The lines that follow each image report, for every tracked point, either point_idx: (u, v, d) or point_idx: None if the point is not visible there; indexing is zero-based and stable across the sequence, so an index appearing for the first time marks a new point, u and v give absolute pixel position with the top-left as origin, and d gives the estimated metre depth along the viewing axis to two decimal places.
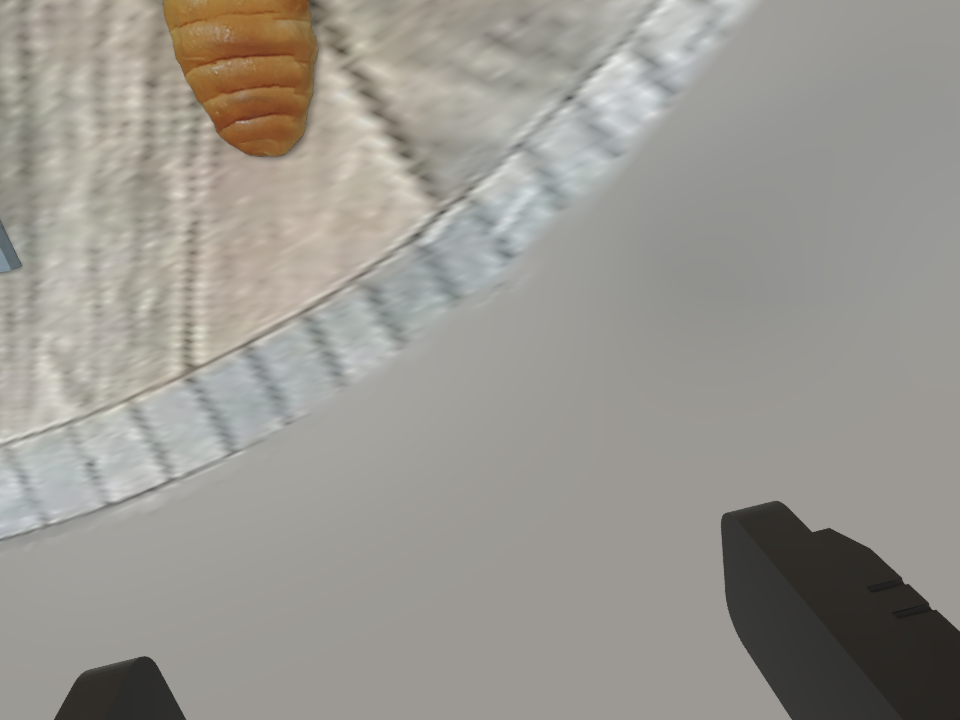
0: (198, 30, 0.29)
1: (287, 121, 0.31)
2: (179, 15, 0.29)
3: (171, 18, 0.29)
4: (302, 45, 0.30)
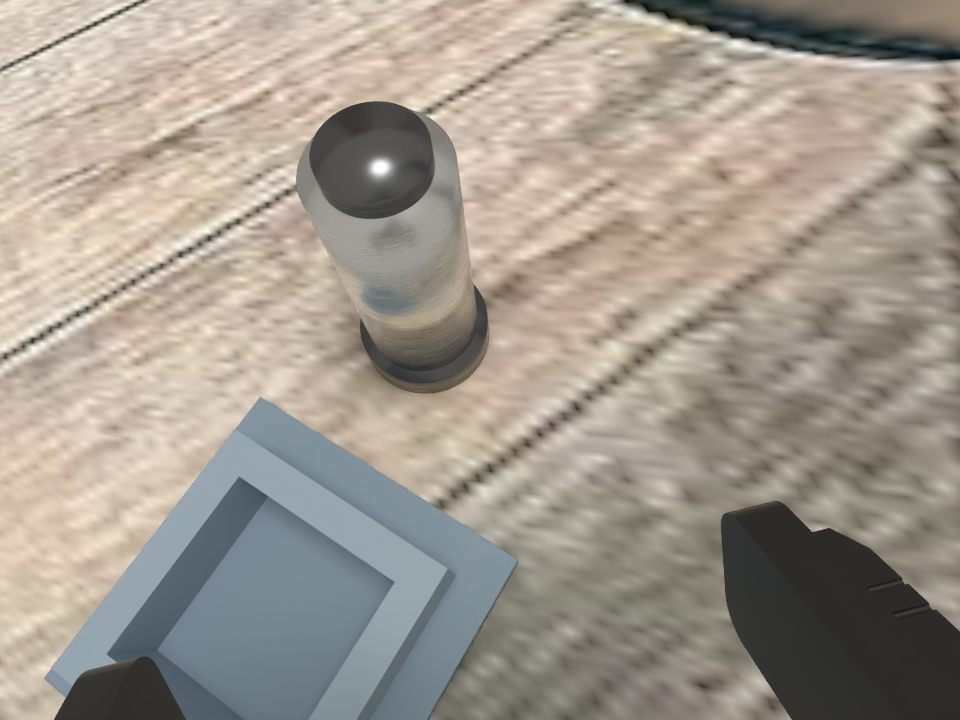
0: None
1: None
2: None
3: None
4: None
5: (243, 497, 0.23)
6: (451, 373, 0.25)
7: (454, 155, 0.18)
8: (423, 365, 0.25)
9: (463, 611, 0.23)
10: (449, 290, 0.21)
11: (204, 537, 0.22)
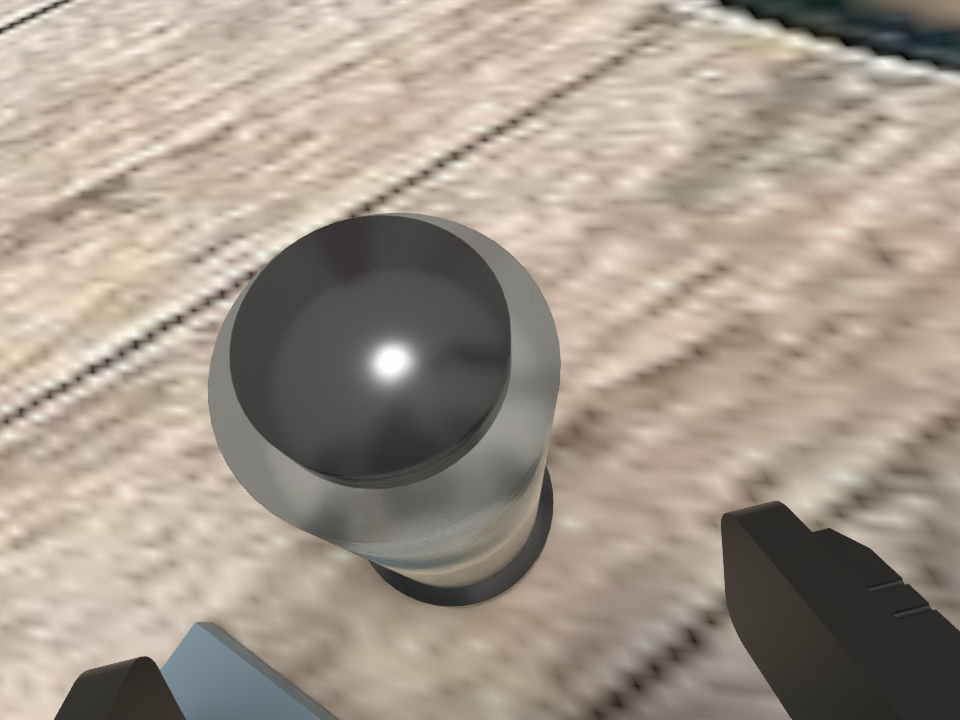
0: None
1: None
2: None
3: None
4: None
5: None
6: (499, 594, 0.16)
7: (552, 330, 0.08)
8: (454, 587, 0.15)
9: None
10: (514, 530, 0.11)
11: None
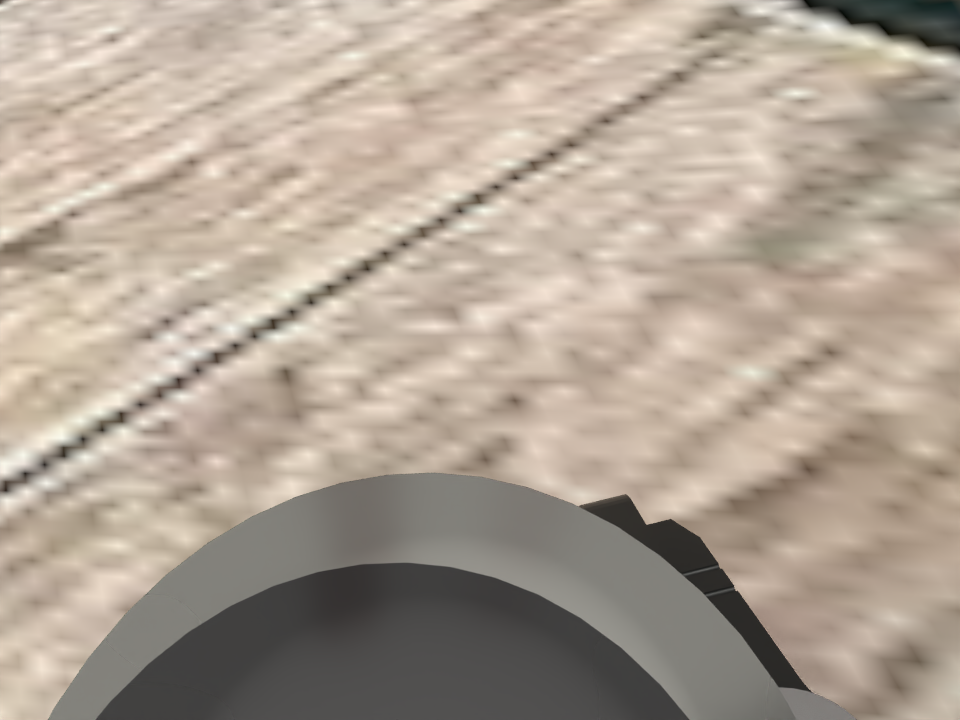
0: None
1: None
2: None
3: None
4: None
5: None
6: None
7: None
8: None
9: None
10: None
11: None
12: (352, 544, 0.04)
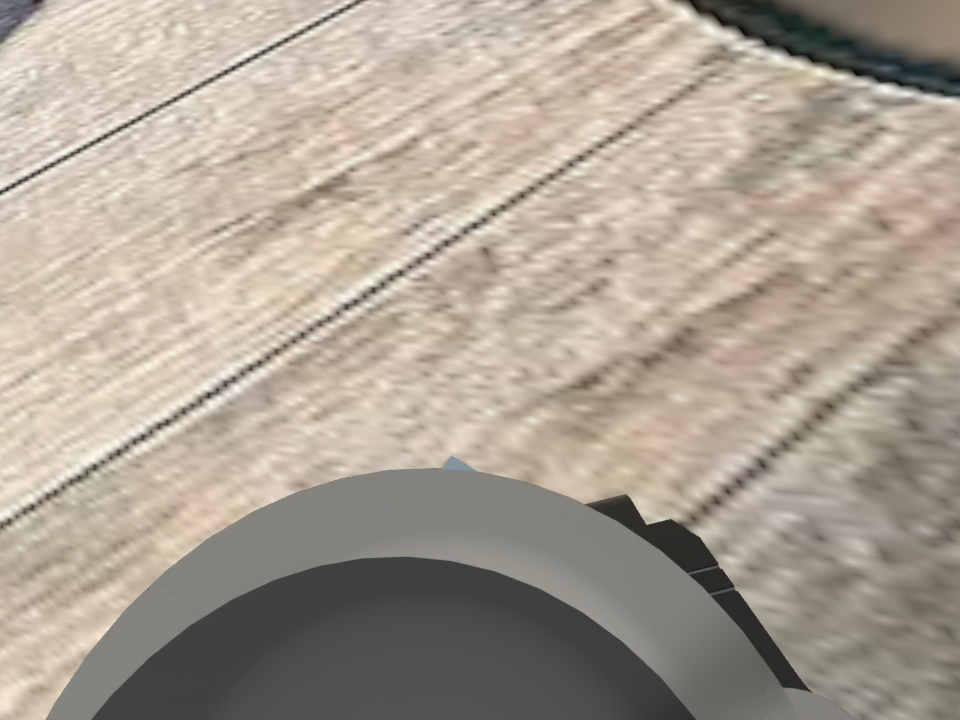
0: None
1: None
2: None
3: None
4: None
5: None
6: None
7: None
8: None
9: None
10: None
11: None
12: (353, 540, 0.04)
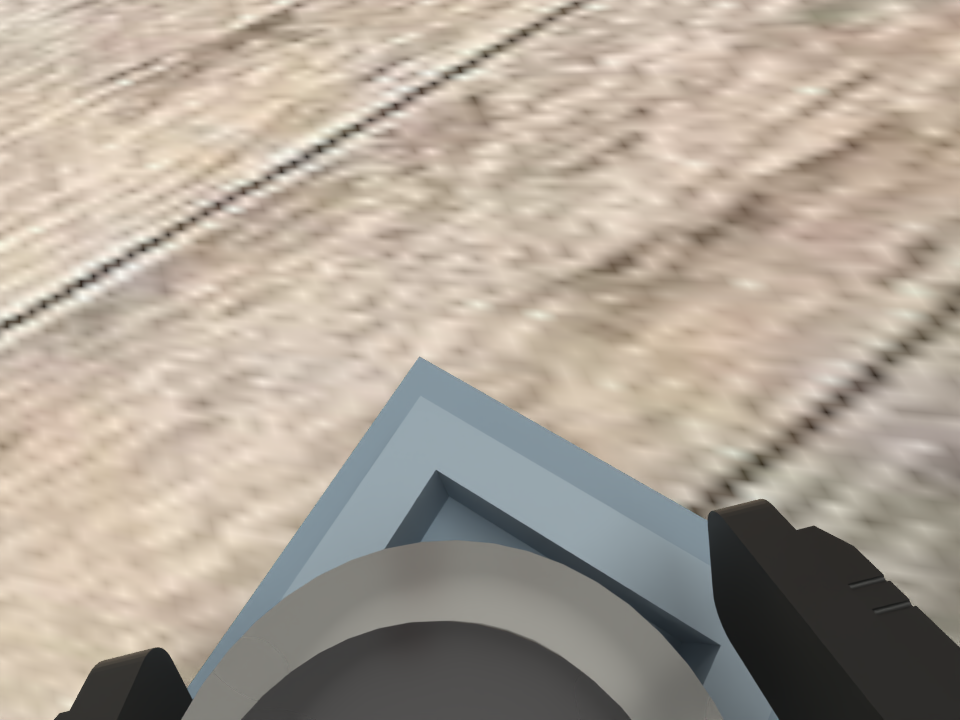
0: None
1: None
2: None
3: None
4: None
5: (428, 503, 0.15)
6: None
7: None
8: None
9: None
10: None
11: None
12: (396, 597, 0.05)
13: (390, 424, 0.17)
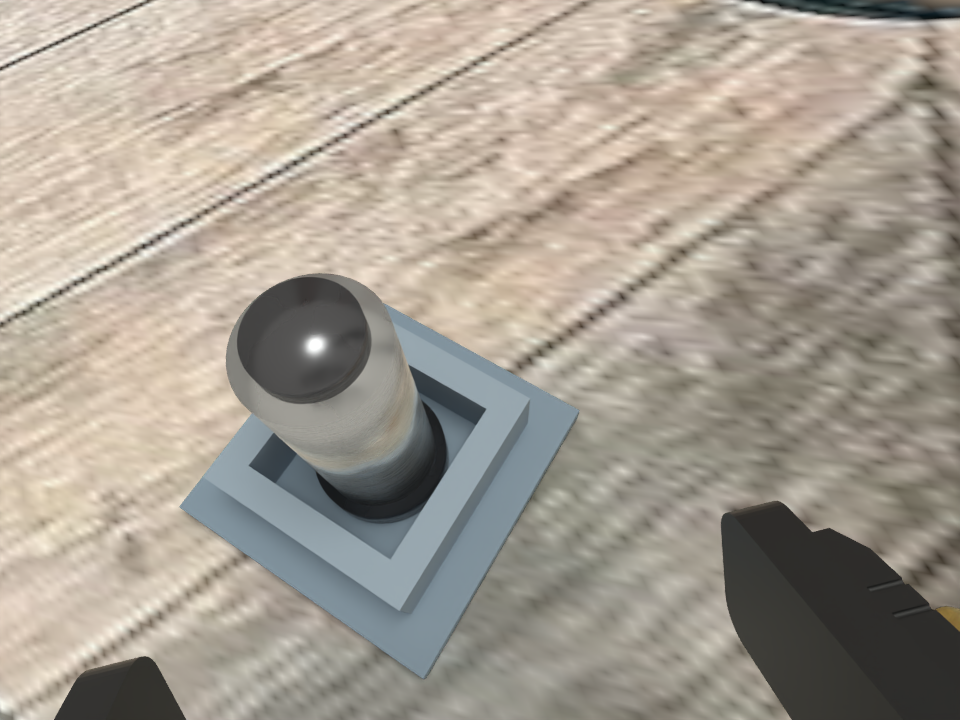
0: None
1: None
2: None
3: None
4: None
5: None
6: (408, 508, 0.24)
7: (392, 330, 0.17)
8: (377, 502, 0.24)
9: (535, 450, 0.27)
10: (396, 446, 0.20)
11: None
12: None
13: None
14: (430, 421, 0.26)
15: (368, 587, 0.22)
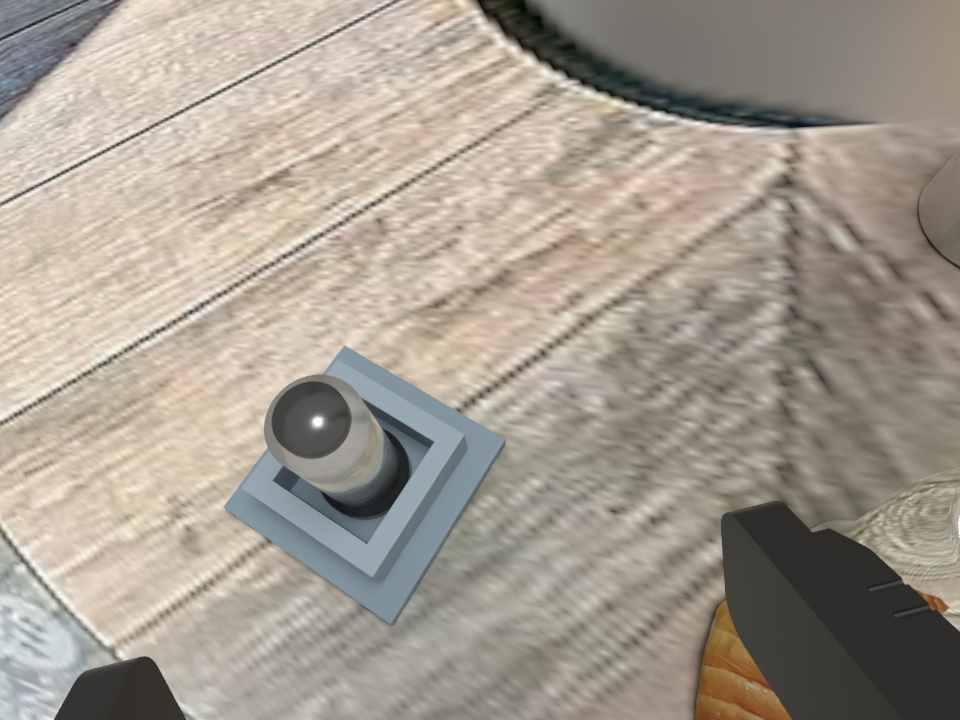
0: None
1: None
2: None
3: (729, 624, 0.33)
4: None
5: None
6: (381, 510, 0.36)
7: (363, 412, 0.28)
8: (360, 506, 0.35)
9: (472, 468, 0.38)
10: (370, 475, 0.31)
11: None
12: None
13: None
14: (397, 449, 0.37)
15: (352, 562, 0.33)
